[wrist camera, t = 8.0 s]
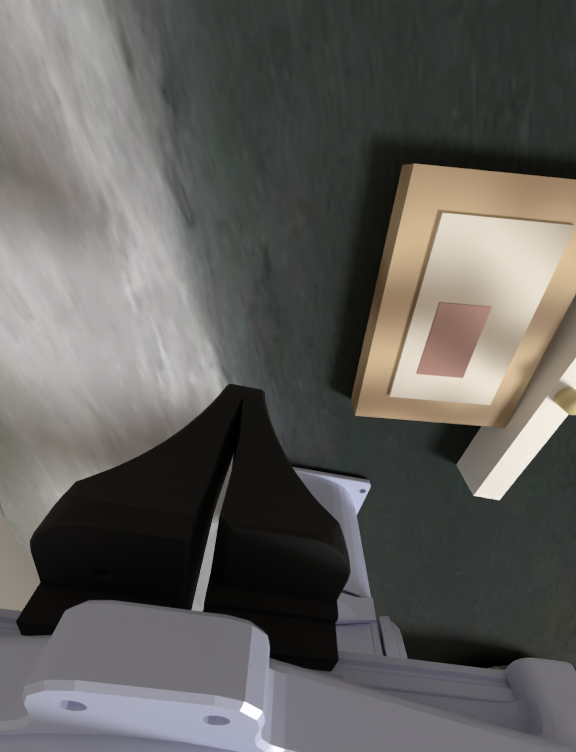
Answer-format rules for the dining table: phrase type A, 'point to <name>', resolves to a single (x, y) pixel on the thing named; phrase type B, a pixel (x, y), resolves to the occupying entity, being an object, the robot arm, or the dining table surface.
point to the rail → (526, 418)
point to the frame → (466, 294)
